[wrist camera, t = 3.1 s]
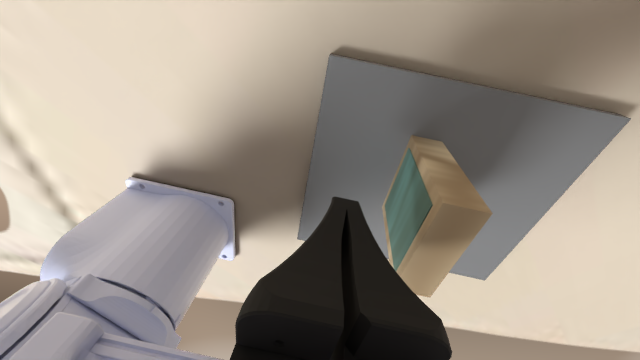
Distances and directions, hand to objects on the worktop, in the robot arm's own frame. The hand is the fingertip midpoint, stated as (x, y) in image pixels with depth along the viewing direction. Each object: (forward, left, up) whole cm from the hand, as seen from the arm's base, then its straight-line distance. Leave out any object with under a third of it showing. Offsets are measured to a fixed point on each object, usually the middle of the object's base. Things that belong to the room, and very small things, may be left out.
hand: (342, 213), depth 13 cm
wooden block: (+4, 0, -5) cm, 7 cm away
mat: (+6, -1, -6) cm, 9 cm away
